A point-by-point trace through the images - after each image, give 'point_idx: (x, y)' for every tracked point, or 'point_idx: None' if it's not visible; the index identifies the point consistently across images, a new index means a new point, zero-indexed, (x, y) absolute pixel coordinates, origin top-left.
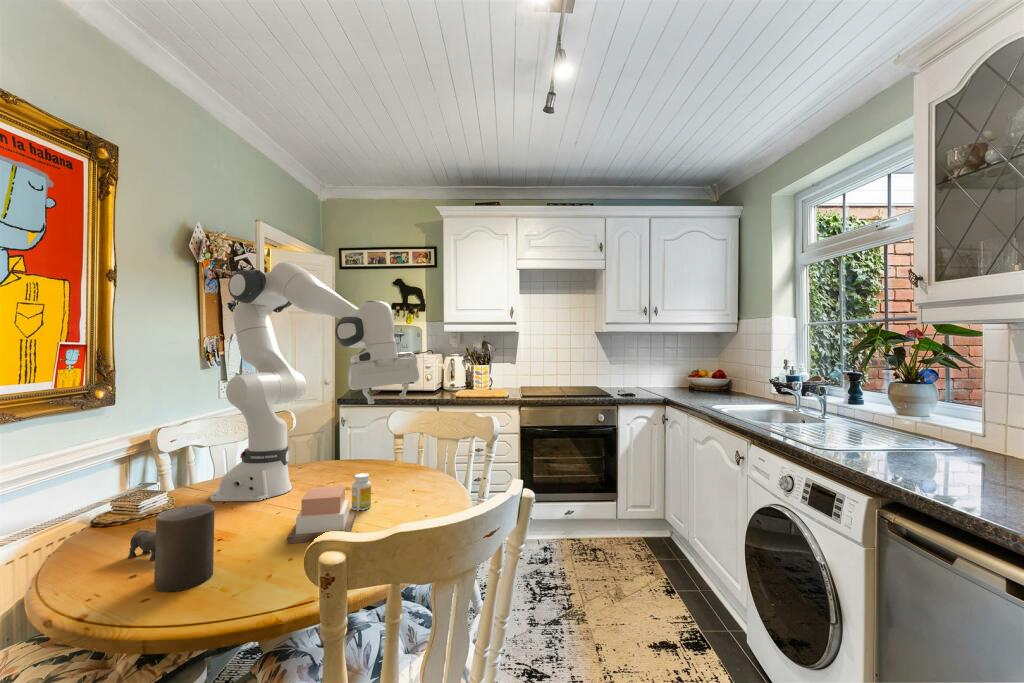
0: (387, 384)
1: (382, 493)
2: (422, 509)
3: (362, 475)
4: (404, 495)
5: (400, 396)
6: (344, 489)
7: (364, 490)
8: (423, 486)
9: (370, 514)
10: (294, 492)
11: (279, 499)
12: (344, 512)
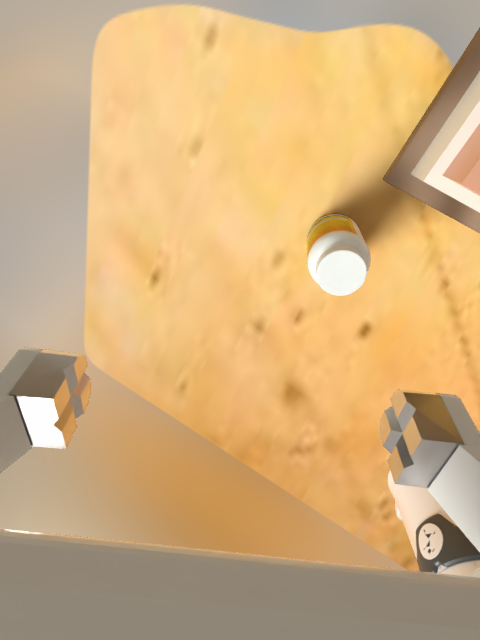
0: (231, 559)
1: (235, 307)
2: (197, 103)
3: (341, 270)
4: (193, 255)
5: (74, 402)
6: (465, 171)
7: (343, 228)
8: (120, 288)
9: (338, 171)
10: None
11: None
12: None
